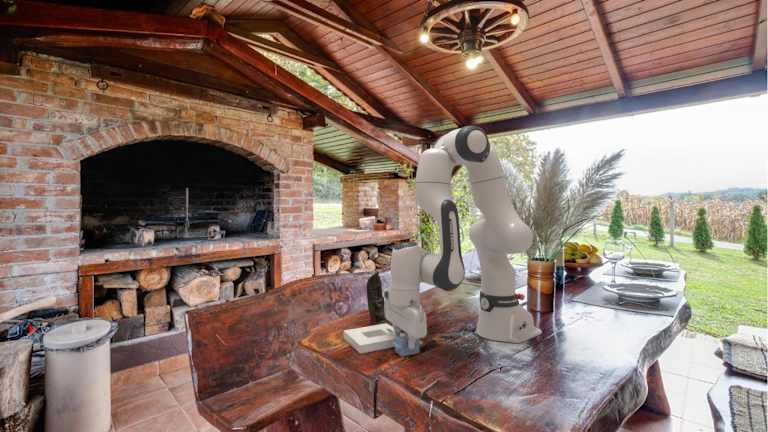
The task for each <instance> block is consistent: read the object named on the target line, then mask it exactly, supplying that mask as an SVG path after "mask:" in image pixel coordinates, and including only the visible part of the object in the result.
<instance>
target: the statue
mask: <svg viewBox="0 0 768 432" xmlns="http://www.w3.org/2000/svg"><path fill="white" fill-rule="evenodd" d="M382 284H383V283H382V280H381V276H380V272H379V270H375V271H374V273H372V274H371V276H369V278H367V282H366V301H367V307H368V308H367V309H368V314H369V315H370V320H369V326H374V325H380V324H386V323H387V324H389V322H390V321H389V320H387V319H386V317H385V309H384V302H385V297H384V291H383V287H382V286H383V285H382Z"/></svg>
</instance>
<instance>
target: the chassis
mask: <svg viewBox="0 0 768 432" xmlns="http://www.w3.org/2000/svg"><path fill="white" fill-rule="evenodd" d="M343 339H344V340H345V341H346V342H347V343H348V344H349V345H350V346H351V347H352V348H353V349H355V351H357V352H358V353H359V355H361V354H366V353H370V352H375V351H376V352H377V351H380V350H381V351H382V350H385V349H387V350H388V349H391V348H395V346H393V345H392V342H395V337H394V329H393V325H390V324H389V323H386V324H380V325H374V326H370V325H369V326H364V327H363V326H362V327H357V328H351V329H345V330H343Z"/></svg>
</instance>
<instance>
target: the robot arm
mask: <svg viewBox="0 0 768 432" xmlns="http://www.w3.org/2000/svg"><path fill="white" fill-rule="evenodd" d="M461 165H463V166H464V167H465V168H466V171H467V172H468V178H469V183H470V188H471V189H470V190H471V193H472V197H473V202H474V206H475V207H476V208H477V209H478V210H479V212H480V213H481V214H482V216H483V217H484V219H483V218H482V219H479V220H476V221H475V222H473V223H472V224H471V225H470V227H469V231H468V237H469V240H470V242H471V244H473V246H474V248H475V250H476V253H477V257H478V261H479V266H480V291H479V305H480V307H479V312H478V313H479V314H478V321H477V323H476V329H475V334H477V335H478V336H480V337H481V338H484V339H487V340H490V341H494V342H495V341H497V342H507V343H514V344H521V343H523V342H525V341H529V340H531V339H532V338H535V337H537V336H538V337H539V336H540V335H542V332H543V331H542V330H541V329H540V328H538V327H537V326H535V320H534V316H533V314H532V313H531V312H530V311H528V310H527V309H526V308H524V306H522V305H521V304H520V301H525V299H526V298H525V297H526V296H525V295H524V294H523V293H522V294H521V293H517V292H516V269H515V267H513V266H514V265H512V264H511V262H510V261H509V260H510V259H509V258H508V255H515V254H522V253H525V252H527V251H528V250H529V249H530V248H531V246H532V244H533V238H534V235H533V232H532V229H531V227H530V226H529V225H528V224H526V223H525V222H524V221H523V220H522V219H521V217H520V216H519V215H518V213H517V211H516V209H515V207H514V206H513V204H512V202H511V199H510V196H509V192H508V187H507V183H506V178H505V174H504V170H503V166H502V161H501V159H500V156H499V155H498V151H497V150H496V149H495V148H494V146H491V143H490V140H489V137H488V135H487V134H486V132H485V130H484V129H483V128H481V127H479V126H477V125H467V126H466V125H465V126H462V127H461V128H456V129H453V130H451V131H449V132H448V133H446V134H444V135H441V136H439V137H437V139H436V140H435V141H434V142H433V144H432V146H431V148H428V149H426V150H425V149H424V151H422V152H421V154H420V157H419V160H418V164H417V168H416V169H417V170H416V174H415V186H414V196H415V201H416V203H417V205H418V207H419V208H420V209H421V210H422V211H423V212H425V213H426V214H428V215H429V216H430V217H432V218H433V219H434V220H435V222H436V223H437V226H438V229H439V246H440V247H439V249H440V253H435V252H431V251H429V250H426V249H424V248H423V247H421V246H420V245H419V244H418V242H415V241H407V242H399V243H398V244H396V245H394V246H393V249H392V251H391V257H390V258H391V259H390V275H391V282H390V289H385V290H383V297H384V309H385V317H386V319H387V320H389V321H388V322H390V323H392V327H393V329H394V337H395V335H399V334H400V333H402V332H401V330H402V331H403V332H404V333H408V337H409V341H407V347H408V348H409V349H412V348H414V345H415V341H416V339H417V338H419V339H422V338H425V337H427V335H428V328H427V327H428V325H427V324H428V323H427V315H426V314H427V313H426V312H425V310H424V308H423V307H422V306H423V305H422V304H421V303H420V301H421V295H420V294H421V284H422V283H424V284H426V285H431V286H433V287H436V288H438V289H440V290H442V291H445V292H451V291H454V290H456V289H457V288H458V287H459V286H461V285H462V284H463V281H464V280H465V276H466V275H465V274H466V270H465V269H466V268H465V264H464V261H463V256H462V244H461V243H462V241H461V231H460V227H461V226H460V217H459V211H458V207H457V205H456V203H455V202H454V200H453V195H452V173H453V170H454V168H455V166H461ZM519 300H520V301H519Z"/></svg>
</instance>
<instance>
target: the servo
mask: <svg viewBox="0 0 768 432" xmlns="http://www.w3.org/2000/svg"><path fill="white" fill-rule="evenodd" d="M407 341H409V337H408V333H406V332H401V333H400V334H399V335H395V342H392V345H393V346H395V347H394V352H395V353H397V354H398V356H400V357H406V356H410V355H415V354H419V353H420V346H421V345H423V344H424V343H423V341H422V340H421V339H420V338H417V339H416V341H415V345H414V348H412V349H409V348H408V347H407Z"/></svg>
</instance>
